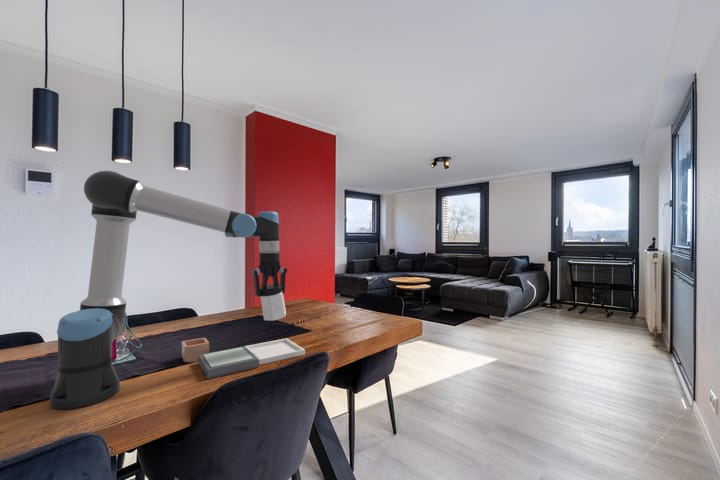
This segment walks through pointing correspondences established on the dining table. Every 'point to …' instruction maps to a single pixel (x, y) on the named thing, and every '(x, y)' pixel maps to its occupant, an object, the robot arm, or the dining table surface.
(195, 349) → the cup
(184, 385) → the dining table surface
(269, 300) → the jar
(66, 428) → the dining table surface
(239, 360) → the plate
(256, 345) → the tray
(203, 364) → the block
